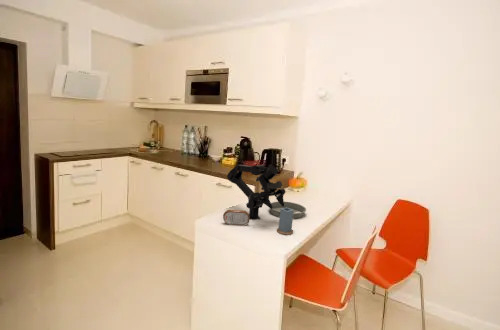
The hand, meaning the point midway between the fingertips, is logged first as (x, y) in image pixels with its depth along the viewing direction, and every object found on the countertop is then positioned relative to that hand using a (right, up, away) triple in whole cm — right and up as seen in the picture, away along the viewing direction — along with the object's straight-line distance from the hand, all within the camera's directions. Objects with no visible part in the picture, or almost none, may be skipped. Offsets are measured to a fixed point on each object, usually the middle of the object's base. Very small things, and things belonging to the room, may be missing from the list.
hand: (277, 207), depth 162 cm
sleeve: (+4, -12, -3) cm, 13 cm away
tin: (-24, -10, +3) cm, 26 cm away
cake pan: (+9, -8, +29) cm, 31 cm away
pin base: (+3, -13, -3) cm, 14 cm away
